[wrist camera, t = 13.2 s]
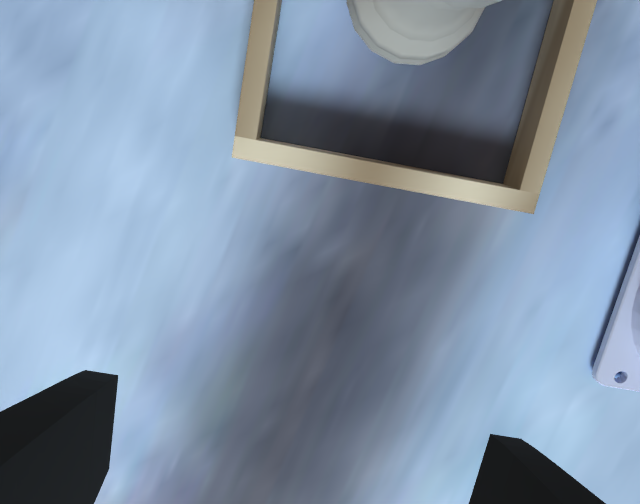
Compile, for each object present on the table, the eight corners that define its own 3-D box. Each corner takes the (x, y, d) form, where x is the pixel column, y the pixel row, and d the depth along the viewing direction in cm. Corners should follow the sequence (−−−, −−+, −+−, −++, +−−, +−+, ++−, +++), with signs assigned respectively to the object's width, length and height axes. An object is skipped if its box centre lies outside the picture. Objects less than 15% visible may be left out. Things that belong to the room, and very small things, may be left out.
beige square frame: (606, -109, 17) (635, -131, 15) (515, 206, 19) (533, 214, 18) (287, -182, 16) (285, -214, 15) (238, 153, 19) (231, 157, 17)
